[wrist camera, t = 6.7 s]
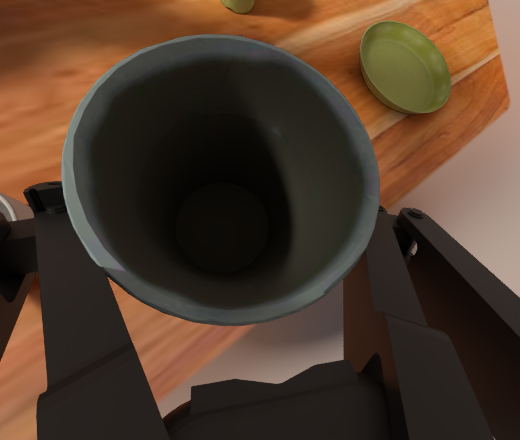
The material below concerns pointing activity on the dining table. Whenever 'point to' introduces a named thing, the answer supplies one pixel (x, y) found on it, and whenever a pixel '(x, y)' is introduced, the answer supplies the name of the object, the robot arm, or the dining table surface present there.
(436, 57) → the saucer
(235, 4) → the plant pot
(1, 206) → the teacup
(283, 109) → the blue-grey cup
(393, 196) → the dining table surface
